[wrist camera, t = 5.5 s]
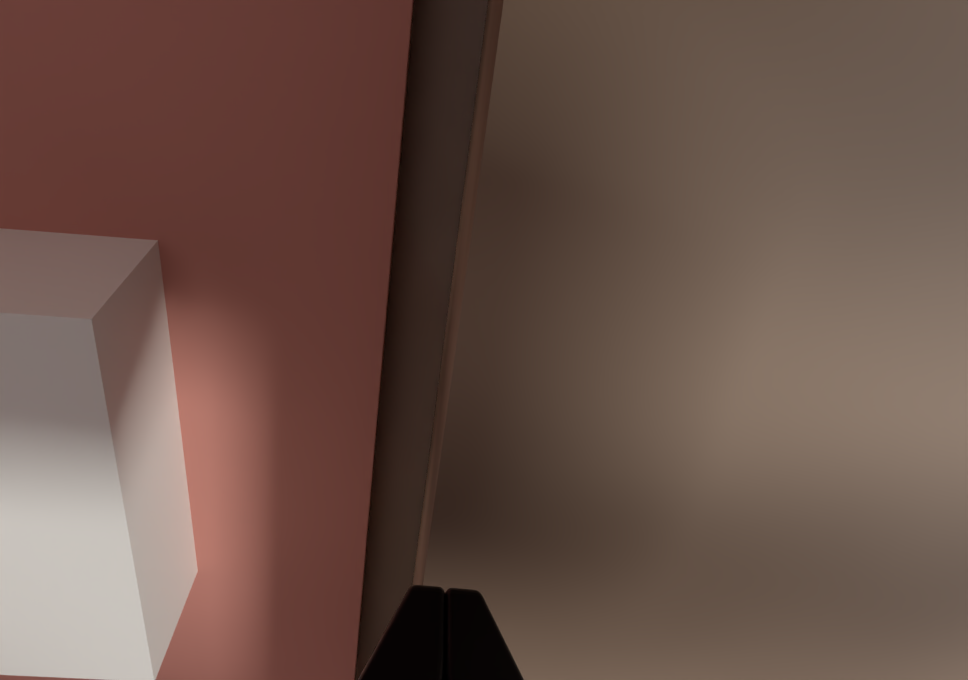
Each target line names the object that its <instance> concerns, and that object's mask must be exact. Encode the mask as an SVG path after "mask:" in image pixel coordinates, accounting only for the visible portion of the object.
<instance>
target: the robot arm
mask: <svg viewBox="0 0 968 680" xmlns="http://www.w3.org/2000/svg"><path fill="white" fill-rule="evenodd" d="M358 680H524V679H523V677H522V675H521V673H520V671H519V669H518V667H517V665H516V663H515V661H514V658H513V656H512V654H511V652H510V650H509V648H508V646H507V644H506V642H505V640H504V638H503V636H502V634H501V632H500V630H499V628H498V626H497V624H496V622H495V620H494V618H493V616H492V614H491V612H490V610H489V608H488V606H487V604H486V602H485V600H484V598H483V596H482V594H481V593H480V592H479V591H477V590H471V589H460V588H449V589H448V590H447V591H446V592H445V591H444V589H443V588H441V587H437V586H426V585H413V586H411V587H410V588H409V589H408V591H407V593H406V594H405V596H404V598H403V600H402V602H401V603H400V605H399V607H398V609H397V611H396V612H395V614H394V616H393V618H392V619H391V621H390V623H389V625H388V627H387V628H386V630H385V632H384V634H383V636H382V637H381V639H380V641H379V643H378V644H377V646H376V648H375V650H374V652H373V653H372V655H371V657H370V659H369V661H368V662H367V664H366V666H365V668H364V670H363V671H362V673H361V675H360V677H359V678H358Z"/></svg>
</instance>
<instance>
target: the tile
mask: <svg viewBox="0 0 968 680" xmlns="http://www.w3.org/2000/svg"><path fill="white" fill-rule="evenodd" d="M197 572H198V569H197V560H196V552H195V544H194V535H193V527H192V519H191V510H190V502H189V494H188V486H187V477H186V469H185V461H184V452H183V444H182V436H181V427H180V419H179V411H178V403H177V394H176V386H175V378H174V369H173V361H172V353H171V344H170V336H169V328H168V319H167V311H166V303H165V295H164V286H163V278H162V270H161V261H160V253H159V245H158V240H146V239H133V238H120V237H107V236H94V235H81V234H68V233H55V232H42V231H29V230H16V229H2V228H0V675H15V676H37V677H58V678H80V679H101V680H155V679H156V677H157V674H158V672H159V669H160V667H161V664H162V662H163V659H164V656H165V654H166V651H167V649H168V646H169V644H170V641H171V638H172V636H173V633H174V631H175V628H176V626H177V623H178V621H179V618H180V615H181V613H182V610H183V608H184V605H185V603H186V600H187V597H188V595H189V592H190V590H191V587H192V585H193V582H194V580H195V577H196V574H197Z"/></svg>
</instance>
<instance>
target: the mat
mask: <svg viewBox="0 0 968 680" xmlns="http://www.w3.org/2000/svg"><path fill="white" fill-rule="evenodd" d="M413 8H414V0H0V228H2V229H16V230H29V231H42V232H55V233H68V234H81V235H94V236H107V237H120V238H133V239H146V240H158V245H159V253H160V261H161V270H162V278H163V286H164V295H165V303H166V311H167V319H168V328H169V336H170V344H171V353H172V361H173V369H174V378H175V386H176V394H177V403H178V411H179V419H180V427H181V436H182V444H183V452H184V461H185V469H186V477H187V486H188V494H189V502H190V510H191V519H192V527H193V535H194V544H195V552H196V560H197V569H198V572H197V574H196V577H195V580H194V582H193V585H192V587H191V590H190V592H189V595H188V597H187V600H186V603H185V605H184V608H183V610H182V613H181V615H180V618H179V621H178V623H177V626H176V628H175V631H174V633H173V636H172V638H171V641H170V644H169V646H168V649H167V651H166V654H165V656H164V659H163V662H162V664H161V667H160V669H159V672H158V674H157V677H156V679H155V680H355V674H356V663H357V651H358V640H359V628H360V617H361V605H362V594H363V582H364V571H365V559H366V548H367V536H368V525H369V513H370V502H371V490H372V479H373V467H374V456H375V444H376V433H377V421H378V410H379V398H380V387H381V375H382V364H383V352H384V341H385V329H386V318H387V306H388V295H389V283H390V272H391V260H392V249H393V237H394V226H395V214H396V203H397V191H398V180H399V168H400V157H401V145H402V134H403V122H404V111H405V99H406V88H407V77H408V65H409V54H410V42H411V31H412V19H413ZM0 680H101V679H80V678H58V677H37V676H15V675H0Z"/></svg>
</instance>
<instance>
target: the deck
mask: <svg viewBox="0 0 968 680" xmlns="http://www.w3.org/2000/svg"><path fill="white" fill-rule="evenodd" d="M413 585H426V586H437V587H441V588H443V589H444V591H445V592H446V591H447V590H448V589H449V588H460V589H471V590H477V591H479V592H480V593H481V594H482V596H483V598H484V600H485V602H486V604H487V606H488V608H489V610H490V612H491V614H492V616H493V618H494V620H495V622H496V624H497V626H498V628H499V630H500V632H501V634H502V636H503V638H504V640H505V642H506V644H507V646H508V648H509V650H510V652H511V654H512V656H513V658H514V661H515V663H516V665H517V667H518V669H519V671H520V673H521V675H522V677H523V679H524V680H968V0H488V5H487V12H486V20H485V28H484V36H483V43H482V51H481V59H480V67H479V74H478V82H477V90H476V97H475V105H474V113H473V121H472V128H471V136H470V144H469V151H468V159H467V167H466V175H465V182H464V190H463V198H462V206H461V213H460V221H459V229H458V236H457V244H456V252H455V260H454V267H453V275H452V283H451V290H450V298H449V306H448V314H447V321H446V329H445V337H444V345H443V352H442V360H441V368H440V375H439V383H438V391H437V399H436V406H435V414H434V422H433V429H432V437H431V445H430V453H429V460H428V468H427V476H426V484H425V491H424V499H423V507H422V514H421V522H420V530H419V538H418V545H417V553H416V561H415V569H414V576H413V584H412V586H413Z"/></svg>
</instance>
